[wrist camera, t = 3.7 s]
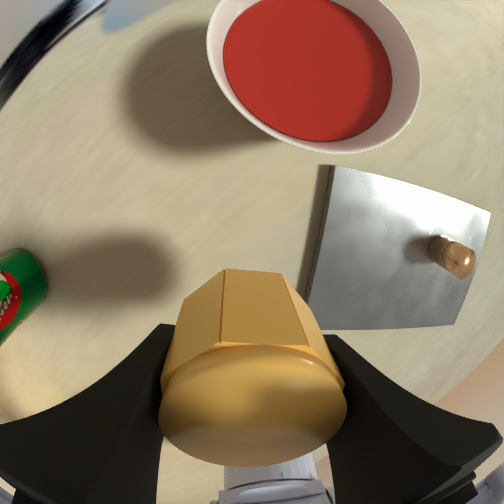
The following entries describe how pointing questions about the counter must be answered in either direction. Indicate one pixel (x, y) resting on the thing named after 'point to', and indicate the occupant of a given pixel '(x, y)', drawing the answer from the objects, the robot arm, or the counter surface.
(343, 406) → the orange cap
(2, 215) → the counter surface
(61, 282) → the counter surface
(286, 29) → the candle
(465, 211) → the plate
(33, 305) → the soda can
